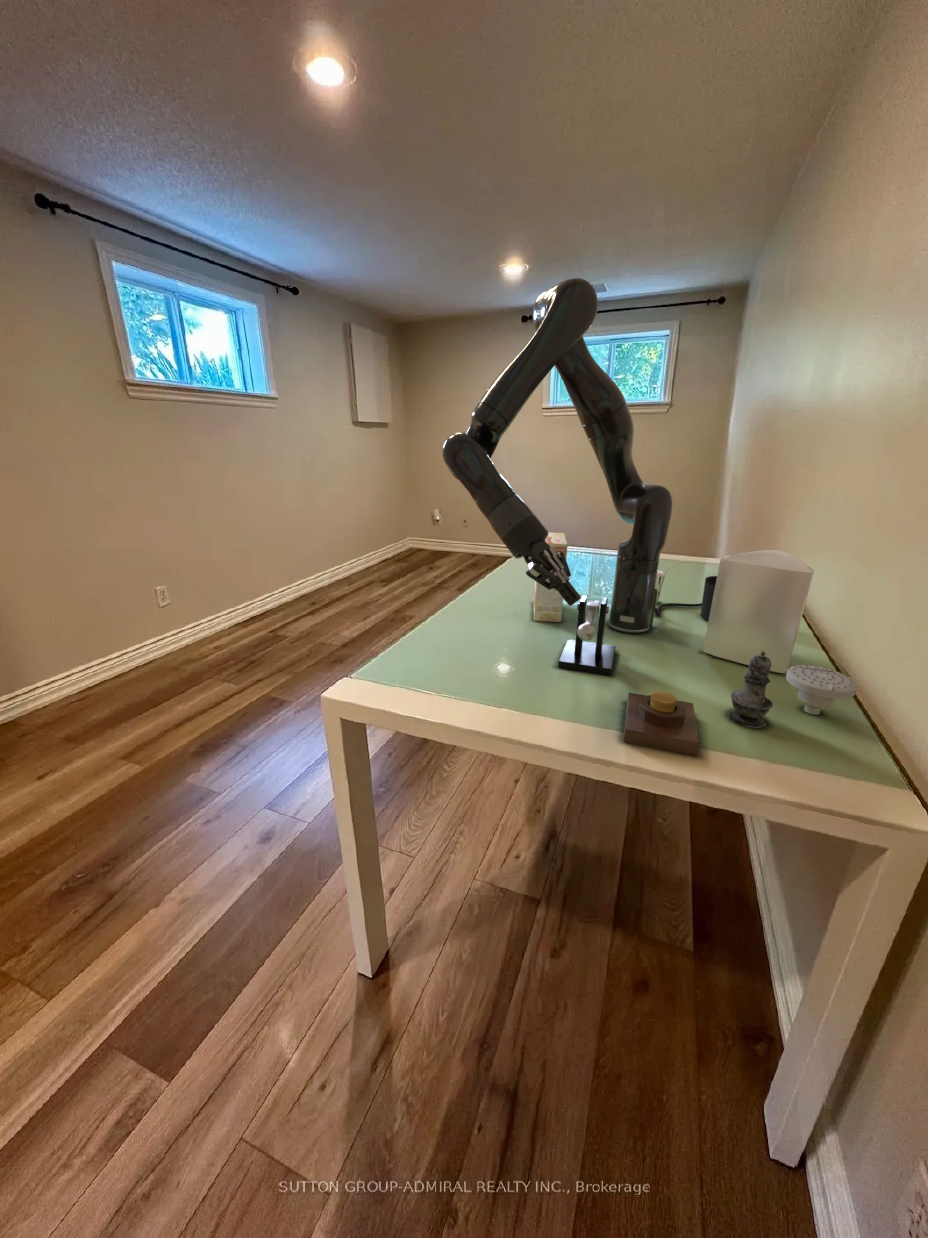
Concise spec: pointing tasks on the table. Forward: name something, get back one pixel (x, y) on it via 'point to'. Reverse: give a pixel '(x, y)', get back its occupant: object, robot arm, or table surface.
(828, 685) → the showerhead
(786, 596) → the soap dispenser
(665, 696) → the button
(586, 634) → the lever
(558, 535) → the coffeecake box
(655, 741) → the button block
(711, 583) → the pen holder
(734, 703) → the salt shaker
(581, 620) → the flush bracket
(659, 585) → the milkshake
